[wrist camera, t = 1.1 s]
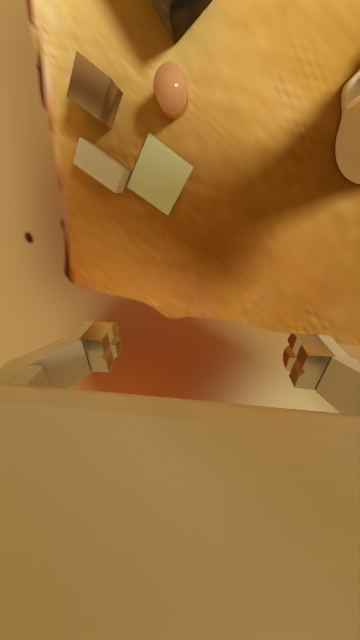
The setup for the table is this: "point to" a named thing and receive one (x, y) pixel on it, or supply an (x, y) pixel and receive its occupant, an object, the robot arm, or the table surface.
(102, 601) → the robot arm
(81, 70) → the walnut cube
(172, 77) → the brown egg
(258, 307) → the table surface
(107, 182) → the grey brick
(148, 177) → the green tile
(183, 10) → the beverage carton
